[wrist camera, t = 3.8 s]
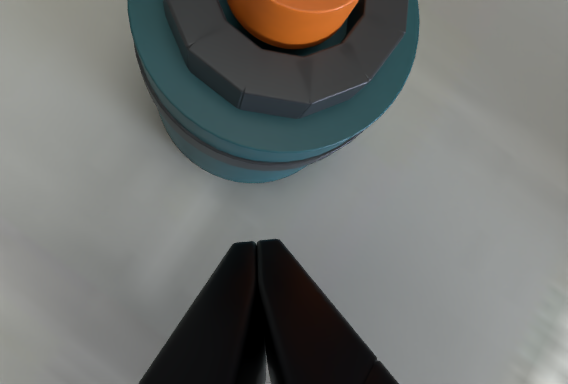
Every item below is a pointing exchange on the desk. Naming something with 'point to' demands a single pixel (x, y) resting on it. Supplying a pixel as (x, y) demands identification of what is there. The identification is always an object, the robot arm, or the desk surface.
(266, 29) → the nozzle
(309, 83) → the cap
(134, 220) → the desk surface
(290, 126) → the teal jar
